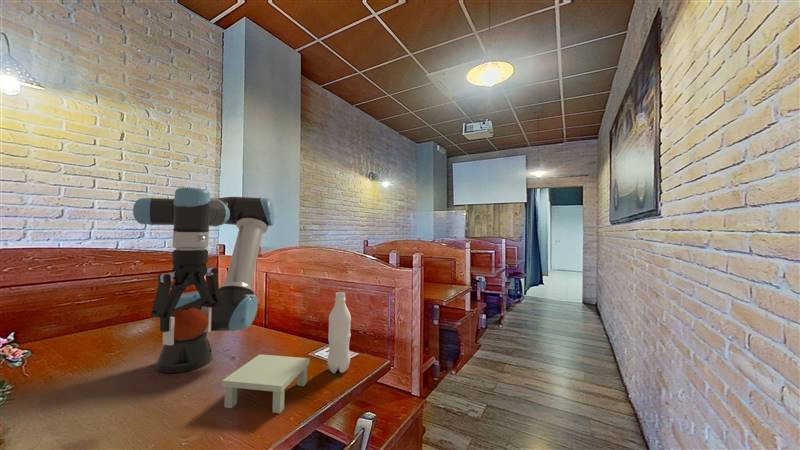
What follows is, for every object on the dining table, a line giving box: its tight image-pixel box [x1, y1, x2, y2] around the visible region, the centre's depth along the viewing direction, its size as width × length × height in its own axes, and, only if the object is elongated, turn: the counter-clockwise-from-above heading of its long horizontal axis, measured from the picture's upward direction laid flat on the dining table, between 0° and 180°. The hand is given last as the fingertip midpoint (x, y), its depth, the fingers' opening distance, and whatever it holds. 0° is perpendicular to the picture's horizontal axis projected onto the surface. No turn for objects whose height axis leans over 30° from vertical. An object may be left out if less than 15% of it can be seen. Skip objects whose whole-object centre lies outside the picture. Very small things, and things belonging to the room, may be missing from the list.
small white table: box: [221, 353, 311, 414], centre depth 82 cm, size 16×16×7 cm
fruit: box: [171, 306, 209, 341], centre depth 76 cm, size 9×9×8 cm
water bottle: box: [327, 291, 352, 374], centre depth 97 cm, size 7×7×25 cm
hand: (188, 337), depth 76 cm, fingers closed on fruit, 9 cm apart
